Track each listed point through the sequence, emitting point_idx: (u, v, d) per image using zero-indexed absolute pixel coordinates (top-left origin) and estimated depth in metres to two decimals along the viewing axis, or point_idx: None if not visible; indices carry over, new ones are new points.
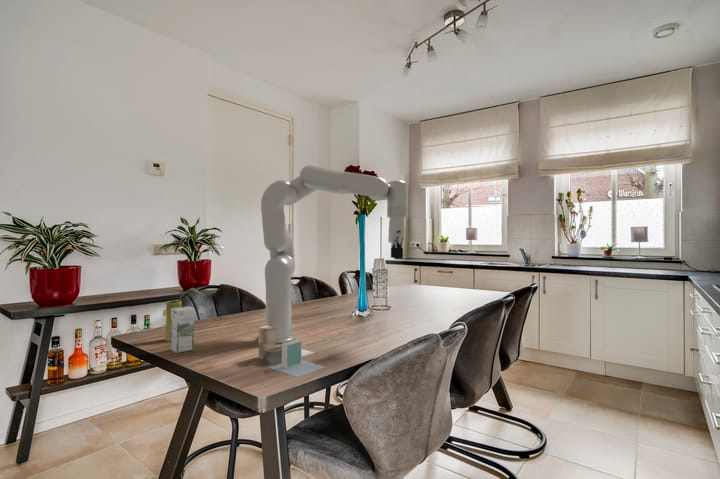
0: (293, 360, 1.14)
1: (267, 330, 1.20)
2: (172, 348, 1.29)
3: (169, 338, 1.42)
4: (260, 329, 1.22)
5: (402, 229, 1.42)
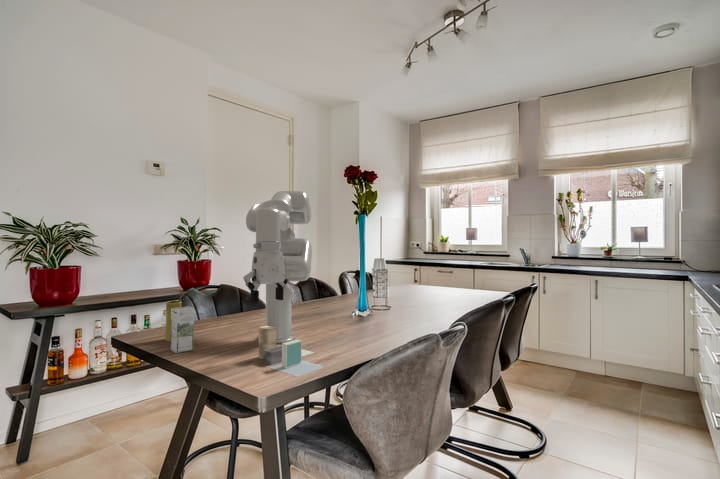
0: (293, 360, 1.14)
1: (267, 330, 1.20)
2: (172, 348, 1.29)
3: (169, 338, 1.42)
4: (260, 329, 1.22)
5: None
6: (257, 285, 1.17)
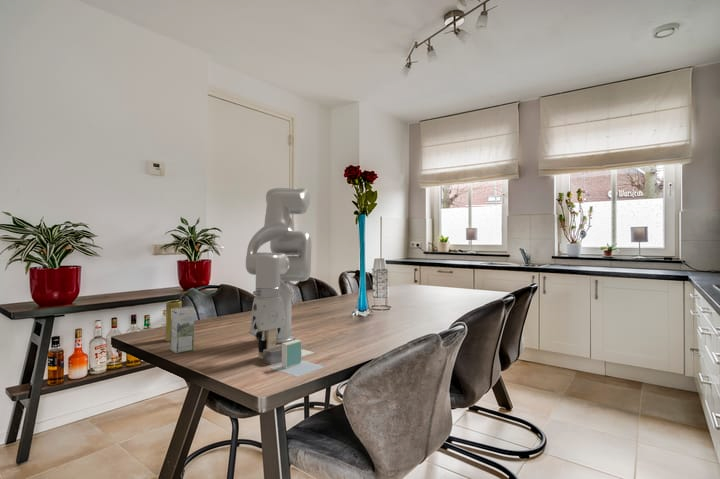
0: (293, 360, 1.14)
1: None
2: (172, 348, 1.29)
3: (169, 338, 1.42)
4: None
5: None
6: (263, 335, 1.19)
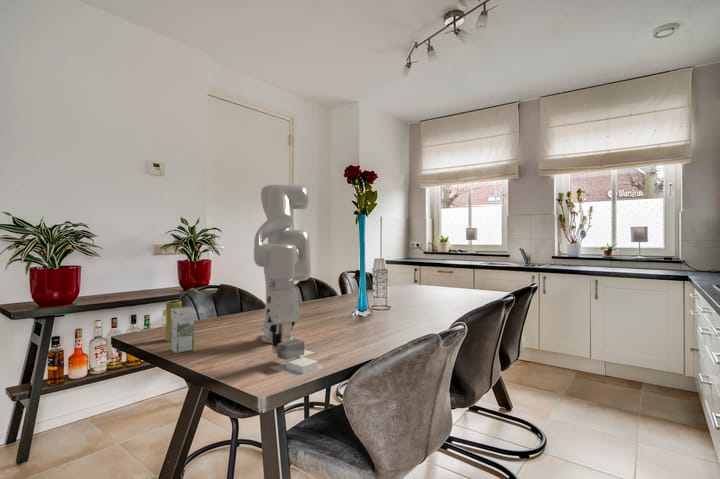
0: None
1: None
2: (172, 348, 1.29)
3: (169, 338, 1.42)
4: None
5: None
6: (277, 328, 1.15)
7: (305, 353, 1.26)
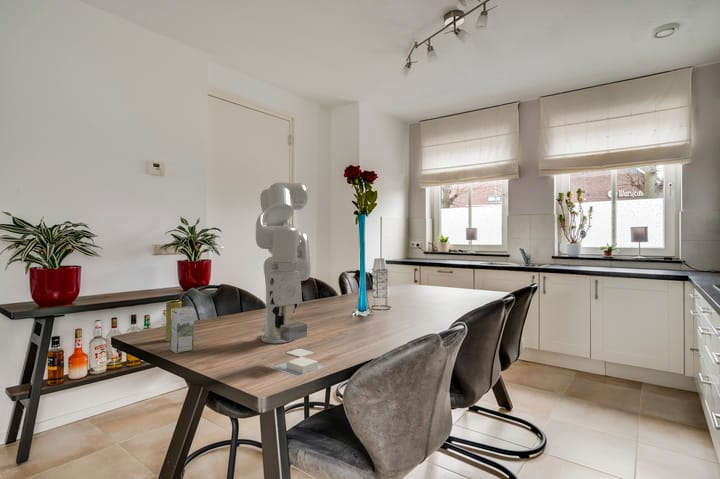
0: None
1: None
2: (172, 348, 1.29)
3: (169, 338, 1.42)
4: None
5: None
6: (280, 310, 1.15)
7: (305, 353, 1.26)
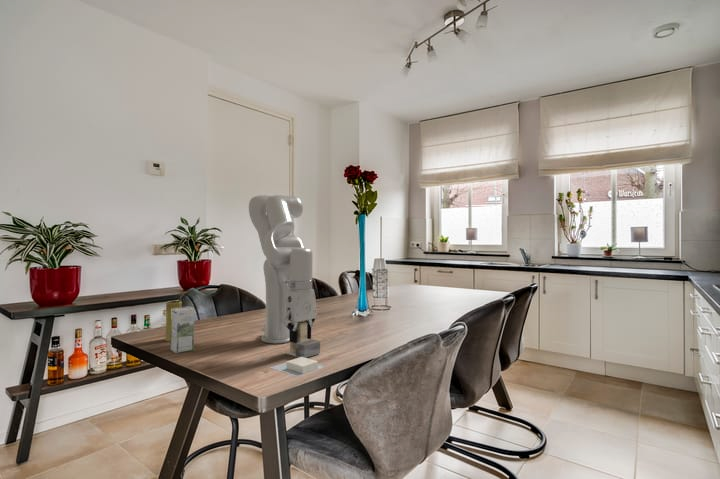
0: None
1: (298, 324, 1.26)
2: (172, 348, 1.29)
3: (169, 338, 1.42)
4: None
5: None
6: (295, 325, 1.24)
7: None
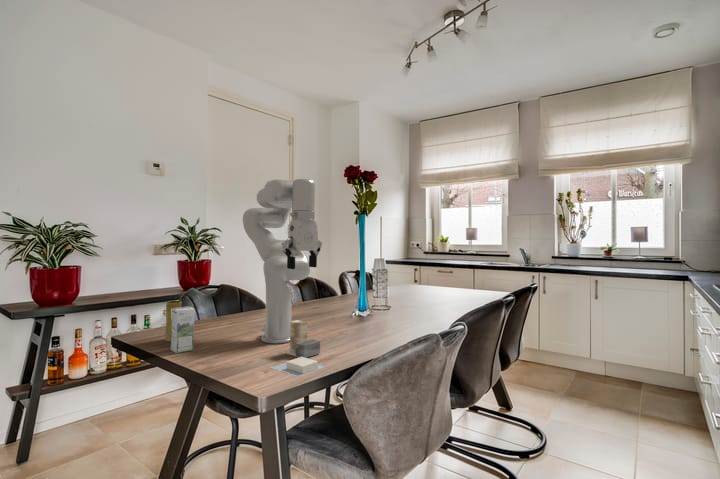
0: None
1: (298, 324, 1.26)
2: (172, 348, 1.29)
3: (169, 338, 1.42)
4: (292, 323, 1.28)
5: None
6: (294, 252, 1.24)
7: None
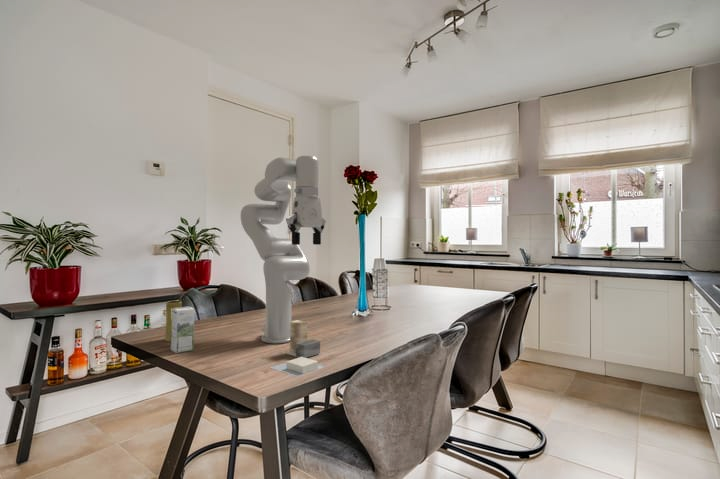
0: None
1: (298, 324, 1.26)
2: (172, 348, 1.29)
3: (169, 338, 1.42)
4: (292, 323, 1.28)
5: None
6: (298, 227, 1.25)
7: None
